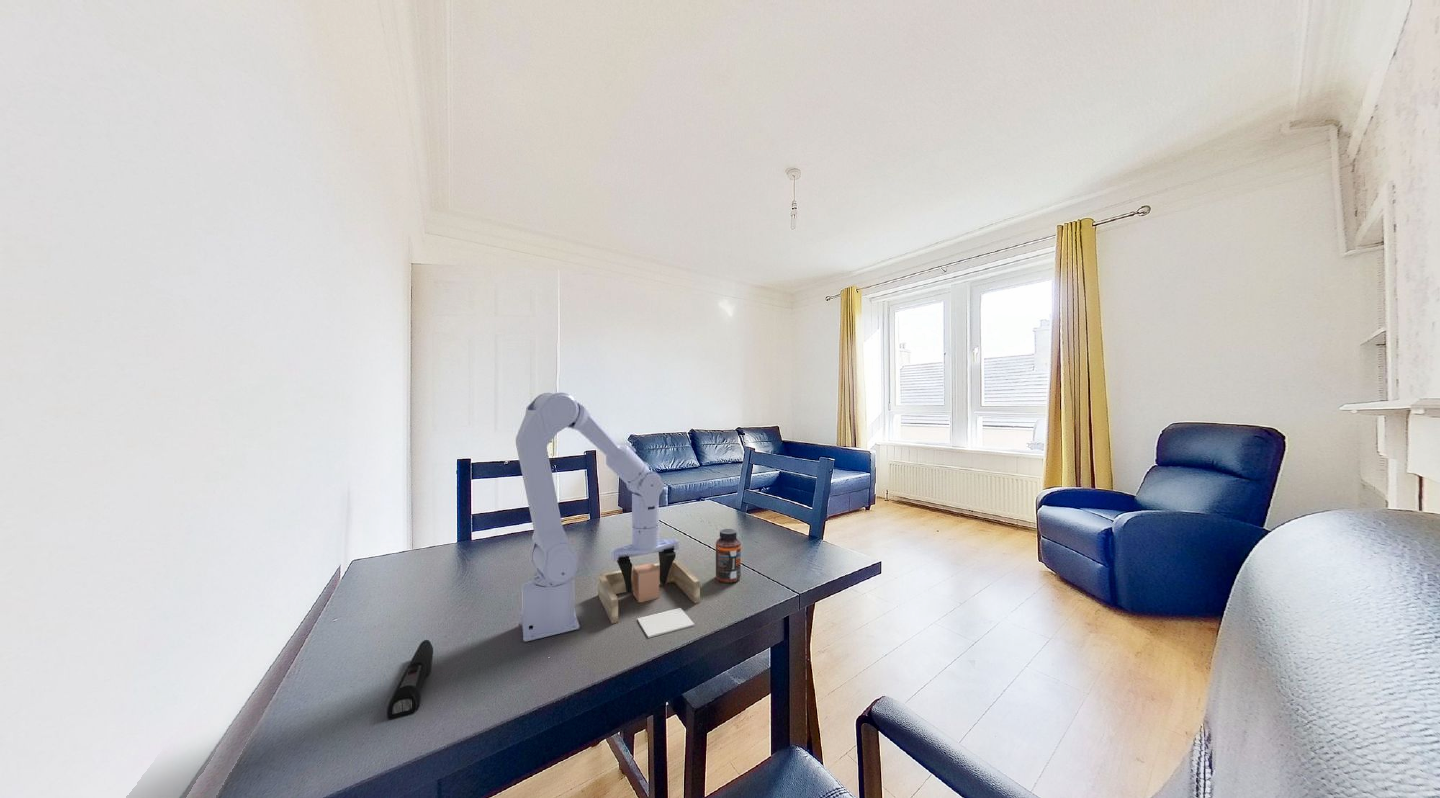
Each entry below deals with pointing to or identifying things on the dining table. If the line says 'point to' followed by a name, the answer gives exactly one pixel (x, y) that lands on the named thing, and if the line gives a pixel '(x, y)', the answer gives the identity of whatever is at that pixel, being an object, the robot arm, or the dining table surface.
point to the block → (645, 582)
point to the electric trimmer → (411, 683)
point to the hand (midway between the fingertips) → (646, 587)
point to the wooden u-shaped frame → (615, 584)
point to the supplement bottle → (728, 556)
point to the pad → (665, 622)
